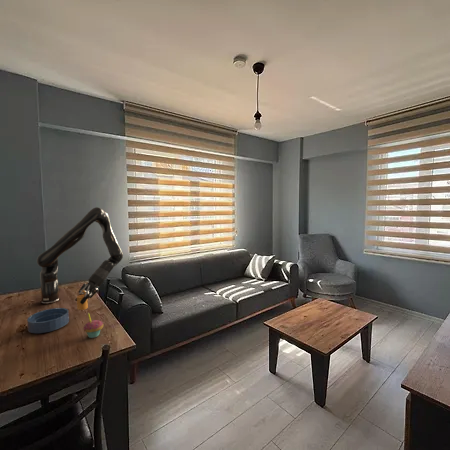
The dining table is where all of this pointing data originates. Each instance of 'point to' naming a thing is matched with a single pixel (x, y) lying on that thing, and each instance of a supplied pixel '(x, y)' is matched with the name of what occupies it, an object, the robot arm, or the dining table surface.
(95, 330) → the cupcake
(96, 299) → the dining table surface
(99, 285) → the robot arm
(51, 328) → the bowl
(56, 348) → the dining table surface
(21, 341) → the dining table surface
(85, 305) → the orange cylinder
